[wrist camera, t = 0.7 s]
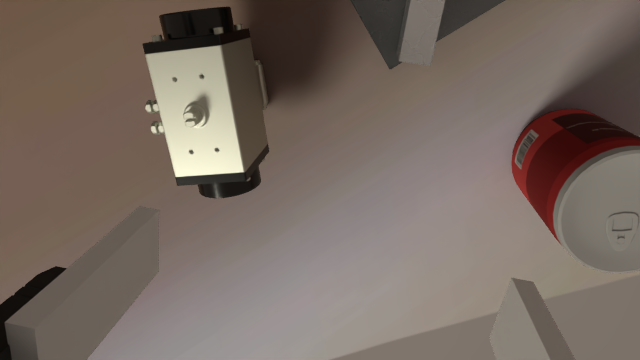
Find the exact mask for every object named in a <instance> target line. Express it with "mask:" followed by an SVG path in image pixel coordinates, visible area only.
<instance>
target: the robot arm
mask: <svg viewBox="0 0 640 360" xmlns="http://www.w3.org/2000/svg"><path fill="white" fill-rule="evenodd" d="M158 272H159V210H156V209H151V208H146V207H141V206H139V207H138V208H137V209H136V210H135V211H134V212H132V213H131V214H130V215H129V216H128V217H127V218H125V219H124V220H123V221H122V222H121V223H120V224H118V225H117V226H116V227H115V228H114V229H113V230H111V231H110V232H109V233H108V234H107V235H106V236H104V237H103V238H102V239H101V240H100V241H99V242H97V243H96V244H95V245H94V246H93V247H92V248H91V249H89V250H88V251H87V252H86V253H85V254H84V255H82V256H81V257H80V258H79V259H78V260H77V261H75V262H74V263H73V264H72V265H71V266H70V267H68V268H67V269H66V268H62V267H57V266H56V267H53V268H51V269H49V270H47V271H44V272H42V273H40V274H38V275H37V276H35V277H34V278H33V279H32V280H31V281H29V282H28V283H27V284H26V285H25V287H22V288H21V289H19V290H18V291H17V292H16V293H15V294H14V296H13V295H12V296H11V297H9V298H8V299H7V300H6V301H4V302H3V303H2V304H1V305H0V360H87V359H88V357H89V356H90V355H91V354H92V353H93V351H94V350H95V349H96V348H97V346H98V345H99V344H100V343H101V341H102V340H103V339H104V338H105V337H106V335H107V334H108V333H109V332H110V330H111V329H112V328H113V327H114V326H115V324H116V323H117V322H118V321H119V319H120V318H121V317H122V316H123V314H124V313H125V312H126V311H127V310H128V308H129V307H130V306H131V305H132V303H133V302H134V301H135V300H136V299H137V297H138V296H139V295H140V294H141V292H142V291H143V290H144V289H145V287H146V286H147V285H148V284H149V283H150V281H151V280H152V279H153V278H154V276H155V275H156V274H157V273H158ZM489 338H490V341H491V344H492V348H493V351H494V354H495V357H496V360H575V358H574V356H573V355H572V353H571V351H570V349H569V347H568V345H567V343H566V341H565V340H564V338H563V336H562V334H561V332H560V330H559V329H558V327H557V325H556V323H555V321H554V319H553V318H552V316H551V314H550V312H549V310H548V308H547V306H546V305H545V303H544V301H543V299H542V297H541V295H540V294H539V292H538V290H537V288H536V286H535V284H534V283H533V282H531V281H526V280H520V279H515V278H511V281H510V283H509V286H508V289H507V292H506V294H505V297H504V300H503V302H502V305H501V308H500V310H499V313H498V316H497V319H496V322H495V324H494V327H493V329H492V332H491V335H490V337H489Z"/></svg>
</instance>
